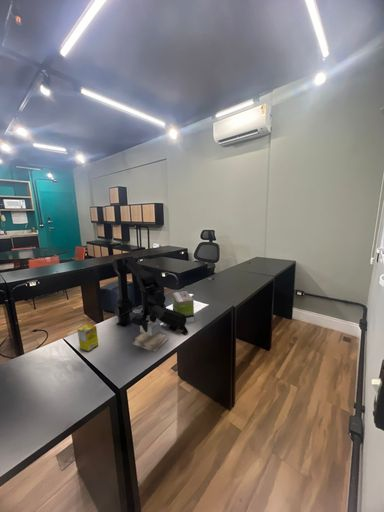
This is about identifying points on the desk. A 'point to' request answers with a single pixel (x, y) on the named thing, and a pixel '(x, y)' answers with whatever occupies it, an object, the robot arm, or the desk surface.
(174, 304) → the tea box
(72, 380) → the desk surface
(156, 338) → the stand
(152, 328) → the block
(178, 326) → the security camera
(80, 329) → the supplement box
